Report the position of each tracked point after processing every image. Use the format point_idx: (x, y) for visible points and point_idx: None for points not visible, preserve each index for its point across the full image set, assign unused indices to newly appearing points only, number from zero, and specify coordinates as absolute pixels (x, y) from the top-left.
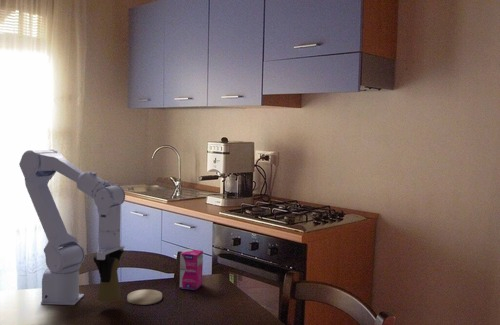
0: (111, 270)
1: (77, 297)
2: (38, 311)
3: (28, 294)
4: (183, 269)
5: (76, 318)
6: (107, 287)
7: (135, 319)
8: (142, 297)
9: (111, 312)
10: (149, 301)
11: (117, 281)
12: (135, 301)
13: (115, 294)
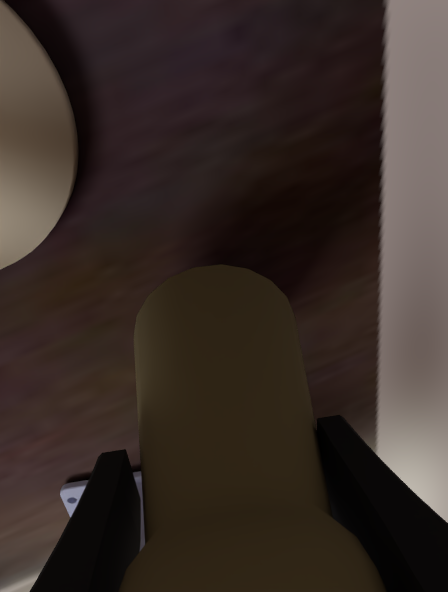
0: (406, 520)
1: (139, 489)
2: None
3: None
4: None
5: (354, 381)
6: (307, 391)
7: (367, 44)
8: None
9: (259, 260)
10: (27, 31)
11: (238, 369)
12: (74, 166)
13: (267, 301)
